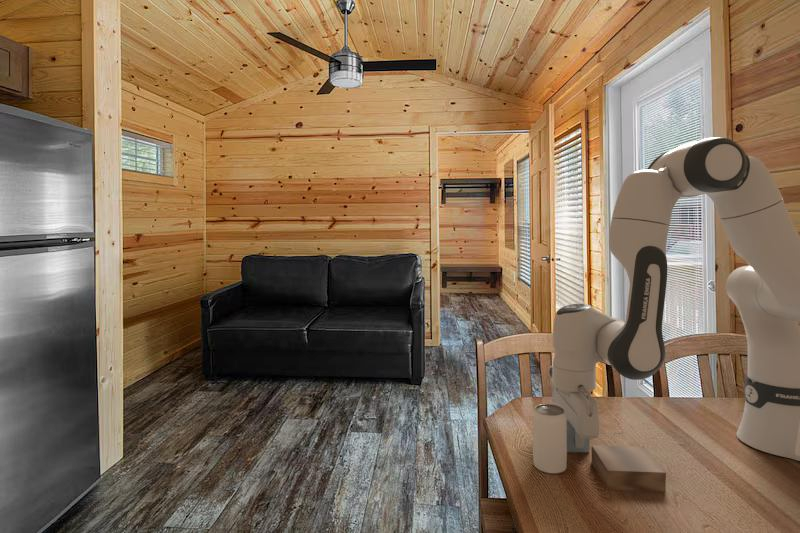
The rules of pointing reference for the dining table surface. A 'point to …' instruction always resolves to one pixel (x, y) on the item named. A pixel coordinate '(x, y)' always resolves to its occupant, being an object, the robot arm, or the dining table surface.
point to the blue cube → (570, 441)
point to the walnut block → (628, 468)
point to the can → (549, 439)
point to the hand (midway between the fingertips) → (573, 439)
